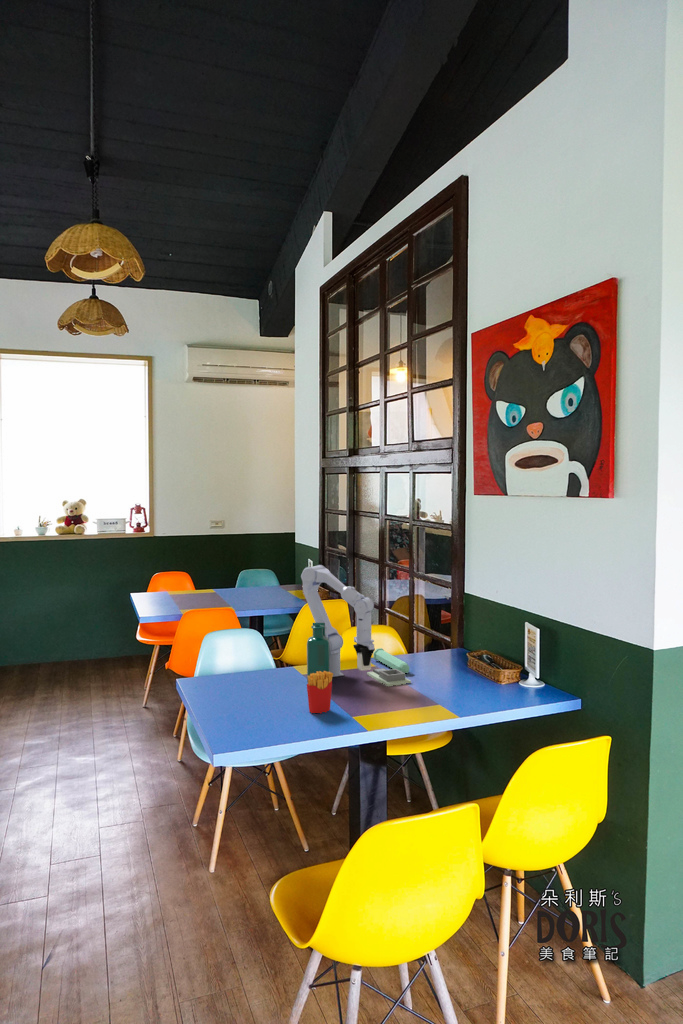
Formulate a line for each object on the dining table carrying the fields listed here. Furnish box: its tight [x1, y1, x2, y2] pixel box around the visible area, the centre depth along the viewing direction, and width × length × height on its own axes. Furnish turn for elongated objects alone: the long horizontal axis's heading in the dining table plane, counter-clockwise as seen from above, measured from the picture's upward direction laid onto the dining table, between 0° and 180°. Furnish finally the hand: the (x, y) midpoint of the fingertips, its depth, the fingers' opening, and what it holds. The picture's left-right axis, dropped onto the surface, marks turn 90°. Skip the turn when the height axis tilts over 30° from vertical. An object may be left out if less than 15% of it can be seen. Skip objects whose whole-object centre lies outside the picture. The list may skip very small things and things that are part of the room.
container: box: [372, 647, 410, 674], centre depth 284 cm, size 6×6×25 cm
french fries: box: [306, 671, 334, 714], centre depth 229 cm, size 9×4×13 cm, turn 122°
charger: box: [356, 653, 372, 672], centre depth 266 cm, size 4×4×6 cm
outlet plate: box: [366, 667, 412, 687], centre depth 267 cm, size 10×18×3 cm, turn 23°
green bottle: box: [306, 622, 330, 684], centre depth 264 cm, size 10×8×22 cm
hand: (363, 664), depth 266 cm, fingers closed on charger, 4 cm apart
